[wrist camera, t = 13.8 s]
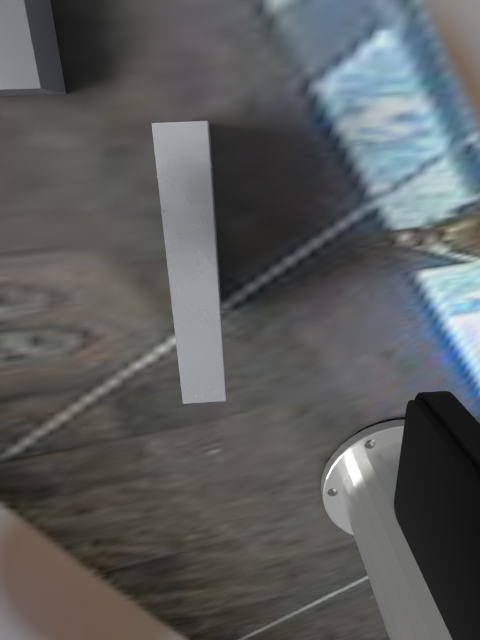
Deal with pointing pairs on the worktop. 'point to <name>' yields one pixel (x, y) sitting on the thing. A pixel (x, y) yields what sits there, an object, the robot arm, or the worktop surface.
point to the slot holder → (29, 49)
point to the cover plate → (192, 255)
